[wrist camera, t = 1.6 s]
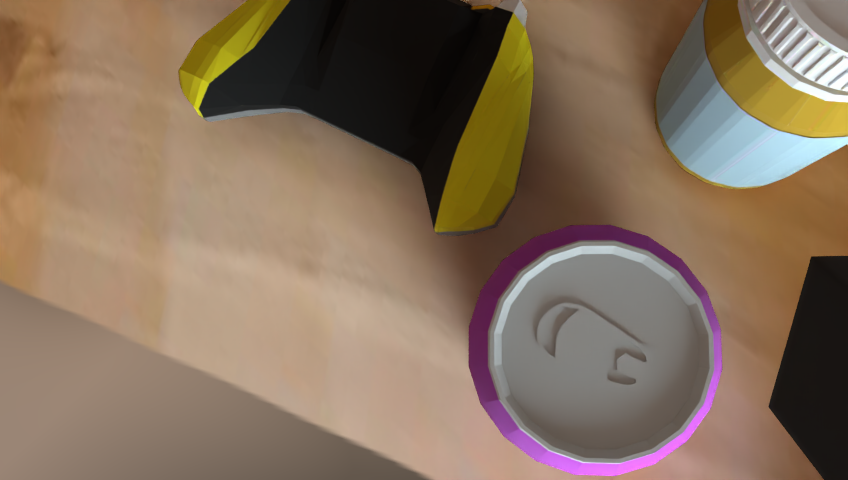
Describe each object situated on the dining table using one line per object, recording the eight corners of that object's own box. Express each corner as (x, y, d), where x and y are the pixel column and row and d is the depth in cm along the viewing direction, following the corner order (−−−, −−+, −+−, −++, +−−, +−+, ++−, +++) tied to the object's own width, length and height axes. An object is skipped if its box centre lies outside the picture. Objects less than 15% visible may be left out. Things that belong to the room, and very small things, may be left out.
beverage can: (694, 302, 33) (793, 290, 21) (613, 464, 32) (667, 546, 20) (531, 222, 34) (537, 168, 22) (452, 378, 33) (414, 407, 22)
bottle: (633, 169, 33) (723, 47, 19) (674, 19, 34) (792, -215, 19) (796, 210, 32) (1028, 116, 18) (836, 54, 33) (1094, -164, 18)
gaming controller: (486, 263, 34) (586, 63, 34) (480, 252, 28) (598, 14, 29) (202, 123, 36) (298, -62, 37) (146, 88, 31) (259, -129, 31)
